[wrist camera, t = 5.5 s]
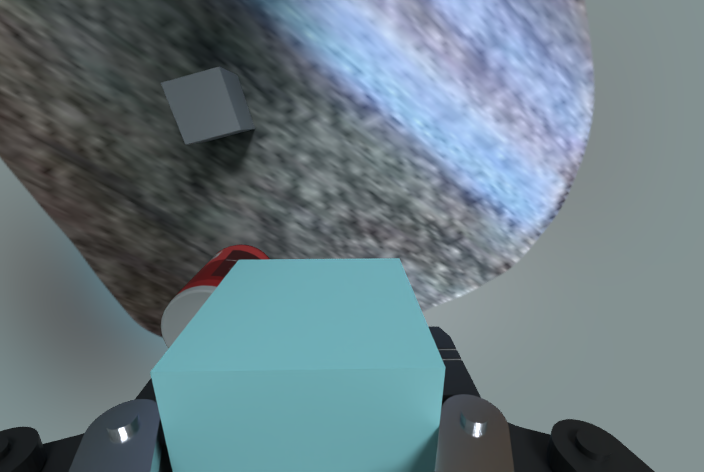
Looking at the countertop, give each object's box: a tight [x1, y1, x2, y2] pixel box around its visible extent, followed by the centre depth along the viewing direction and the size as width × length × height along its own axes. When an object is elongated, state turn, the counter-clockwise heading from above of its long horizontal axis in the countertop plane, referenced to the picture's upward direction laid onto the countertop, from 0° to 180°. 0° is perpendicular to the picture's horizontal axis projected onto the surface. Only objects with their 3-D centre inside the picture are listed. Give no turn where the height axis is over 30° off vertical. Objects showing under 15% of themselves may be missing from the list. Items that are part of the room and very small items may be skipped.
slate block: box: [161, 67, 255, 145], centre depth 30 cm, size 5×5×5 cm
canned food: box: [161, 245, 269, 348], centre depth 33 cm, size 8×8×11 cm
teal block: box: [150, 258, 446, 472], centre depth 9 cm, size 5×5×5 cm
